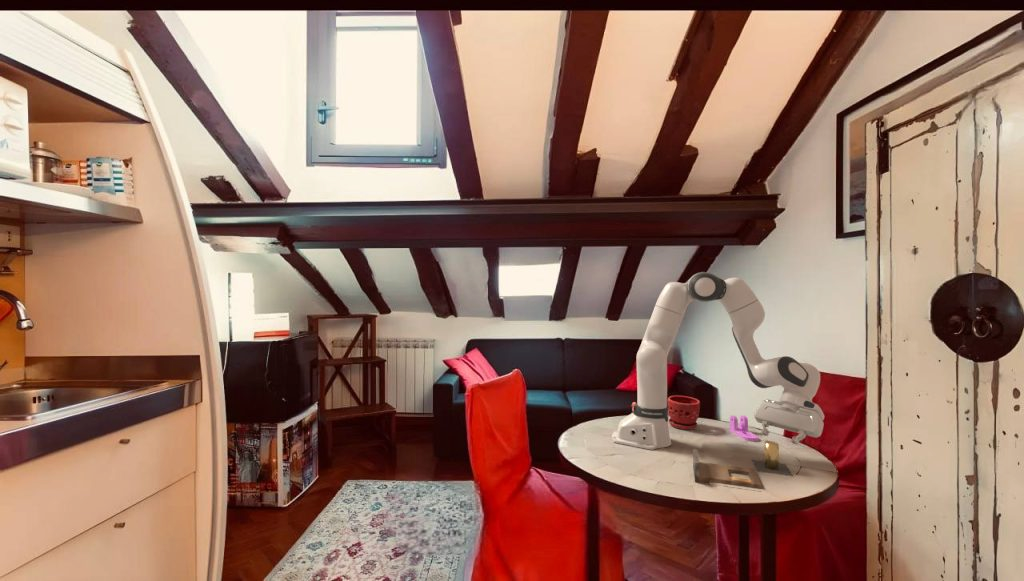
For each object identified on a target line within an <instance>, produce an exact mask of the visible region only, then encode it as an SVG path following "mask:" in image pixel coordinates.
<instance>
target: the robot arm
mask: <svg viewBox="0 0 1024 581" xmlns="http://www.w3.org/2000/svg"><path fill="white" fill-rule="evenodd" d="M693 301H697V302H701V303H702V302H703V303H705V302H707V303H708V302H713V301H718V302H720V303H721V305H722V306H723V308H725V309H724V310H725V311H726V312H727V314H728V316H729V318H730V320H731V324H732V328H731V331H732V335H733V338H734V340H735V343H736V345H737V347H738V349H739V352H740V354H741V357H742V359H743V362H744V363H745V367H746V369H747V374H748V377H749V380H750V381H751V382H752V383H753V384H754V385H755V386H756V387H758V388H760V389H768V388H772V387H776V386H777V387H779V386H781V387H782V388H783V391H782V393H781V395H780V397H779V399H778V401H776V400H771V399H766V400H761V402H760V404H758V405H759V406H758V407H757V408H756V410H755V412H754V413H753V416H754V419H755V420H756V422H757V423H759V424H761V427H762V430H761V434H762V435H763V436H766V437H768V436H769V434H770V431H769V430H768V428H769V426H770V427H774V428H776V429H777V428H778V429H782V430H786V431H788V432H793V433H797V434H798V435H796V436H795V435H794V436H792V438H791V440H790V441H791V443H792V444H794V445H797V446H798V445H799V442H800V441H803V440H804V439H806V436H807V437H808V436H809V437H811V438H815V439H817V438H819V437H821V436H822V433H823V430H824V425H825V424H824V420H825V414H824V411H823V410H822V409H821V407H820V405H819V404H817V403H814V402H813V398H814V397H815V396H816V394H817V392H818V389H819V387H820V384H821V373H820V371H819V369H818V368H817V367H815V366H814V365H812V364H810V363H807V362H799V361H797V360H796V359H795V358H794V357H792V356H778V357H773V358H769V359H768V358H767V359H765V358H763V357H762V356H761V353H760V351H759V349H758V346H757V345H756V342H755V340H754V334H755V331H756V330H757V329H759V327H761V325H762V324H763V322H764V320H765V316H766V312H765V309H764V306H763V304H762V303H761V301H760V300H759V298H758V296H757V295H756V294H755V292H754V291H753V290H752V288H751V286H749V285H748V284H747V283H746V281H744V280H743V278H741V277H735V276H734V277H728V278H726V279H725V280H724V279H722V278H720V277H718V276H717V275H715V274H713V273H711V272H710V273H709V272H705V271H701V272H697V273H695V274H692V276H691V277H690V278H689V279H688V280H686V282H678V281H670V282H667V284H666V285H664V287H663V288H662V290H661V292H660V294H659V296H658V298H657V300H656V303H655V305H654V308H653V311H652V314H651V316H650V318H649V321H648V324H647V326H646V330H645V332H644V335H643V338H642V340H641V344H640V346H639V348H638V351H637V353H636V357H635V358H636V361H635V362H636V380H637V381H636V382H637V383H636V384H637V388H636V389H637V393H636V394H637V395H636V396H637V402H635V401H634V402H632V404H631V413H630V414H628V415H626V416H625V417H623V418H622V419H621V420H620V421H619V423H618V426H617V429H616V430H614V431H613V433H612V434H611V440H612V442H613V443H616V444H620V445H625V446H631V447H635V448H641V449H646V450H652V451H653V450H657V449H660V448H663V449H664V448H667V447H670V446H671V445H672V444H673V443H672V440H671V437H670V430H669V425H668V424H669V419H670V416H669V410H668V355H669V353H670V350H671V348H672V346H673V343H674V340H675V339H676V336H677V334H678V332H679V328H680V326H681V324H682V321H683V319H684V316H685V314H686V310H687V308H688V306H689V304H690V303H692V302H693Z"/></svg>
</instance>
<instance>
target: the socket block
mask: <svg viewBox="0 0 1024 581" xmlns="http://www.w3.org/2000/svg"><path fill="white" fill-rule="evenodd" d="M692 451H693V452H692V467H693V468H692V469H693V477H694V483H700V484H704V485H705V484H706V485H713V486H715V484H714V483H721V484H727V485H734V486H740V487H748V488H753V489H762V484H761V481H760V479H759V477H758V475H757V472H756V469H755V468H750V467H743V466H737V465H736V466H735V465H726V464H719V463H712V462H703V461H700V459H699V454H698V449H696V448H693V449H692ZM729 473H731V474H738V475H745V476H748V477H749V479H748V478H740V477H734V476H730V474H729ZM710 482H713V483H710ZM717 486H719V487H721V485H719V484H717ZM724 487H727V488H728V486H726V485H724ZM740 487H739V488H738V487H737V489H740V490H742V488H740ZM731 488H732V489H733V488H734V489H735V487H731ZM753 489H751V491H753V492H755V490H753ZM744 490H746V491H749V489H746V488H744ZM759 492H761V493H762V491H759V490H758V493H759Z"/></svg>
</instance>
